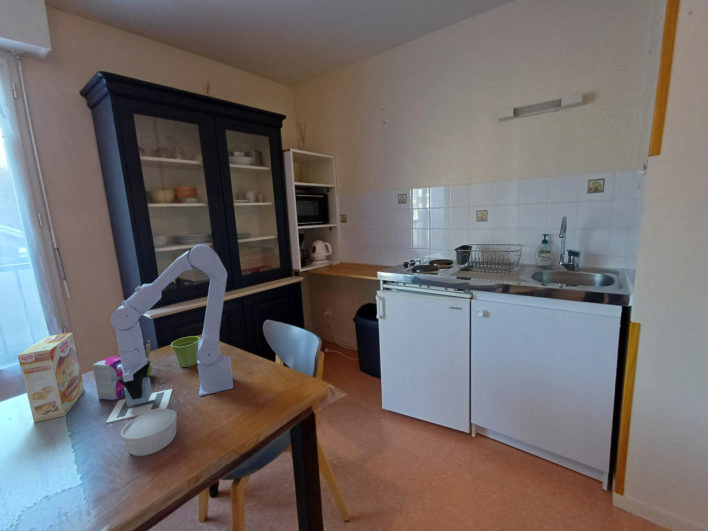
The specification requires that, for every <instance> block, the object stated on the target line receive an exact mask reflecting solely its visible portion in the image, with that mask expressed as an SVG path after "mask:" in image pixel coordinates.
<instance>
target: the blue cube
mask: <svg viewBox="0 0 708 531" xmlns="http://www.w3.org/2000/svg"><path fill="white" fill-rule="evenodd" d="M151 384H152V383H151V380H150V376H148V377H145V378H143V382H142V397H141V398H138V399H134V400H133V399H132V398H131V396H130V394H129V392H128V390H127V389H126V388H125V389H124V392H125V395H124V397H125V399H126V403H127V406H130V405H135V404H139V403H143V402H148V401H149V398H150V396H151V394H152V393H153V390H152V385H151Z"/></svg>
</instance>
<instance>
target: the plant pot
mask: <svg viewBox="0 0 708 531" xmlns="http://www.w3.org/2000/svg"><path fill="white" fill-rule="evenodd" d="M200 338H201V336H197V335H194V336H193V335H191V336H185V337H181V338H178V339H176V340H174V341H172V342H171V344H170V346H171V347H172V348H173V350H174V352H175V356H176V359H177V361H178V365H179V366H180V368H189V367H190V368H191V367H193V366H195V365H196V364H198V363H197V360H198V359H197V352H198V341H199V340H200Z"/></svg>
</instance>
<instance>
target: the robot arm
mask: <svg viewBox="0 0 708 531" xmlns="http://www.w3.org/2000/svg"><path fill="white" fill-rule="evenodd" d="M194 267H195V268H197V269H199V270H201V271H203V273H204V274H205V275H206V276H208V278H210V280H209V286H208V291H207V292H208V293H207V300H206V308H205V315H204V322H203V329H202V334H201V336H200V340H199V341H198V352H197V359H198V360H197V363H196V364H197V370H198V376H199V377H198V378H199V382H200V383H199V391H198V396H199V397H200V396H206V395H211V394H213V393H219V392H222V391H227V390H232V389H233V388H234V378H235V376H234V372H233V370H232V361H231V356H230V355H226V356H225V355H223V354H222V352H221V348H220V331H221V324H222V323H221V322H222V316H223V315H222V314H223V309H224V302H225V294H226V287H227V280H228V272H227V270H226V268H225V266H224V264H223V263H222V260H221V258H220V257H219V255H218V253H217V252H216V251H215V250H214V249H213V248H212V247H211V246H209V245H208V244H205V243H198V244H196V245H193V246H192V248H191V250H187V251H186V252H184V253H183V254H181V255H180V256H178V257H177V258H176V259H175V260H174V261H173V262H172V263H171V264H169V266H168V267H167V268H166V269H165V270H164V271H163V272H162V273H161V274H160V275H159V276H158V277H157V278H156V279H155V280H154V281H153V282H152V283H143V284H142V285H141V286H140V285H138V286H137V287H136V288H135V289H134V291H135V292H134V293H133V294H131V296H129V297H128V298H127V299H124V300H123V301H122V302H121V303H120V306H118V308H116V309H115V310H114V312H112V314H111V317H110V324H111V326H112V327H114V329H115V337H116V343H117V347H118V348H117V349H118V352H119V353H118V354H119V357H120V359H121V364H119V365H118V366H117V369H122V372H123V376H121V377H120V379H119V382H120V383H121V384H122V385H123V386H124V387H125V388H126V389H127V390H128V392H129V394H130V396H131V398H132V399H133V400H134V399H138V398H141V397H142V382H143V378H145V377H147V374H148V369H149V365H151V361H150V360H148V359H147V358H146V355H145V351H146V350H145V345H144V340H143V332H142V328H141V326H140V321H139V320H140V318H141V316H144V315H145V314H146V313H147V312H148V311H149V310H150V309H152V308H153V306H154V305H156V303H158V301H160V300H161V299H162V297H163V296H162V291H163V290H164V289H165V288H166V287H167V286H169V285H170V284H171V283H172V282H173V281H174V280H175V279H176V278H177V277H179V275H181V273H183V272H187V271H192V270H194Z"/></svg>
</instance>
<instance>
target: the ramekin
mask: <svg viewBox="0 0 708 531" xmlns="http://www.w3.org/2000/svg"><path fill="white" fill-rule="evenodd" d="M177 420H178V414H177V412H176V411H175V410H173V409H171V408H167V409H157V410H153V411H150V412H147V413H144V414H142V415H140V416H136V417H134V418H133V419H131V420H130V421H128V423H126V424H125V426H124V427H123V428H122V430H121V431H120V437H121V440H122V441H124V444H125V447H126V449H127V451H128V452H129V454H131V455H132V456H136V457H143V456H144V457H145V456H149V455H152V454H155V453H157V452H159V451H161V450H163V449H164V448H166V447H167V446H168V445H170V443H172V441H173V440H174V438H175V437H176V434H177V422H178V421H177Z"/></svg>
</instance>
